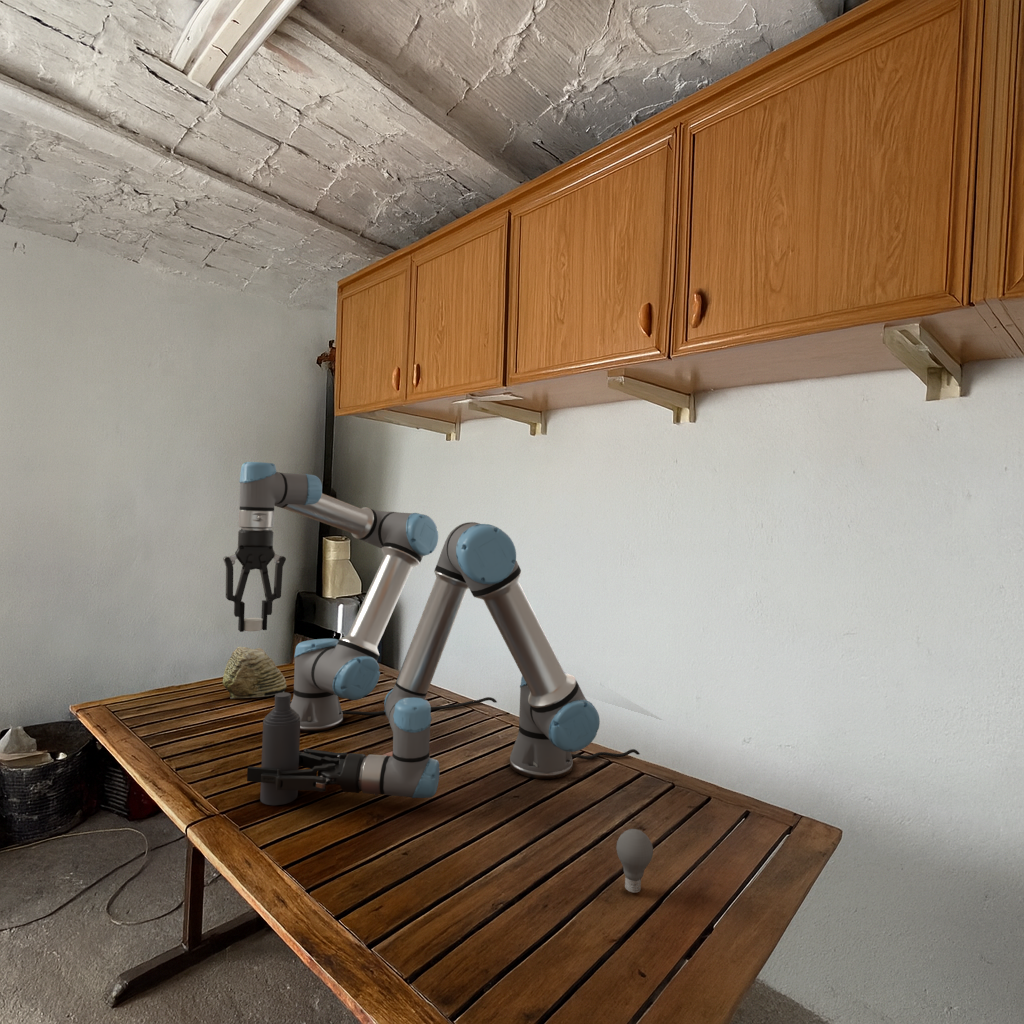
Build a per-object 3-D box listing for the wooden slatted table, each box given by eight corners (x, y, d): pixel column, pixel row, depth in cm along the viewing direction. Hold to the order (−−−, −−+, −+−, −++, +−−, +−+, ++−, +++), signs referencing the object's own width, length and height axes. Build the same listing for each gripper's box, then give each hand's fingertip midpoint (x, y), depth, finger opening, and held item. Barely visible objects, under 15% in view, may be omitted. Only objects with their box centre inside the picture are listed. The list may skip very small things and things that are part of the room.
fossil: (218, 695, 195) (220, 647, 195) (278, 685, 208) (279, 640, 207) (228, 703, 189) (230, 653, 188) (289, 692, 201) (290, 645, 201)
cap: (258, 626, 150) (258, 617, 150) (265, 630, 147) (266, 620, 146) (239, 628, 147) (239, 618, 147) (246, 632, 143) (247, 621, 143)
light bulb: (610, 879, 108) (613, 822, 108) (644, 879, 109) (647, 822, 109) (619, 902, 102) (622, 840, 102) (655, 901, 103) (658, 840, 103)
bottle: (278, 808, 128) (282, 702, 128) (252, 799, 131) (256, 695, 131) (305, 794, 134) (309, 693, 134) (279, 786, 138) (283, 687, 137)
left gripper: (217, 529, 138) (213, 636, 139) (298, 530, 148) (295, 630, 148) (212, 527, 145) (209, 629, 145) (290, 528, 154) (287, 624, 154)
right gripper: (347, 815, 121) (232, 806, 123) (377, 770, 142) (277, 763, 143) (348, 776, 121) (233, 768, 123) (378, 737, 142) (279, 730, 143)
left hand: (252, 629), depth 147 cm, fingers closed on cap, 4 cm apart
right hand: (257, 765), depth 133 cm, fingers closed on bottle, 7 cm apart
